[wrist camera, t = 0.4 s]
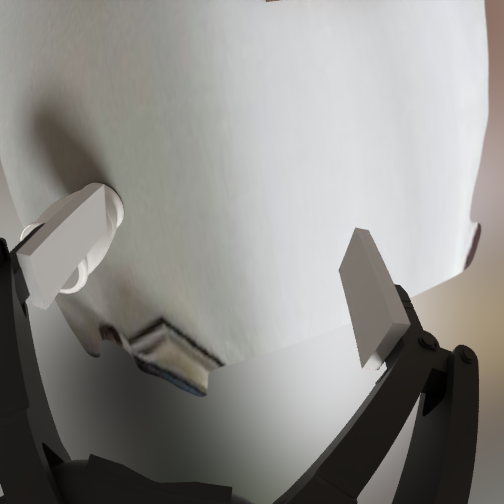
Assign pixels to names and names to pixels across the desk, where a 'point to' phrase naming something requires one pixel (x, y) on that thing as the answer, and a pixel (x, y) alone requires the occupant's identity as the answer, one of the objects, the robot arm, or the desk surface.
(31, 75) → the desk surface
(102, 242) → the jar
